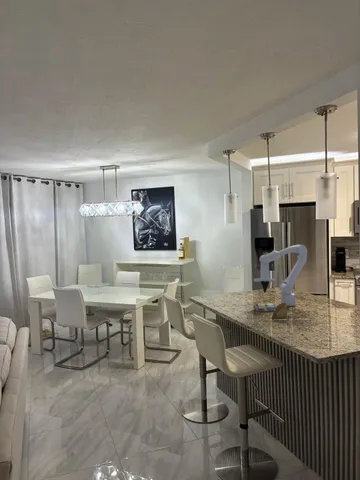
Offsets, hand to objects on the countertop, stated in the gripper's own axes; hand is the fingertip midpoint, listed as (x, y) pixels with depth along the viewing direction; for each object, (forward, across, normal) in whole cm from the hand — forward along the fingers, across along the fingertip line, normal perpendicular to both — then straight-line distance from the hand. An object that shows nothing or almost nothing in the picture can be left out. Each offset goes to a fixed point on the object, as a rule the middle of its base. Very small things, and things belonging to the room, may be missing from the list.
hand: (264, 292), depth 248 cm
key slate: (+9, -3, +13) cm, 16 cm away
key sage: (+9, -3, +7) cm, 12 cm away
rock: (+11, -6, +30) cm, 32 cm away
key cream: (+8, +3, +13) cm, 15 cm away
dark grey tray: (+10, 0, +10) cm, 14 cm away
